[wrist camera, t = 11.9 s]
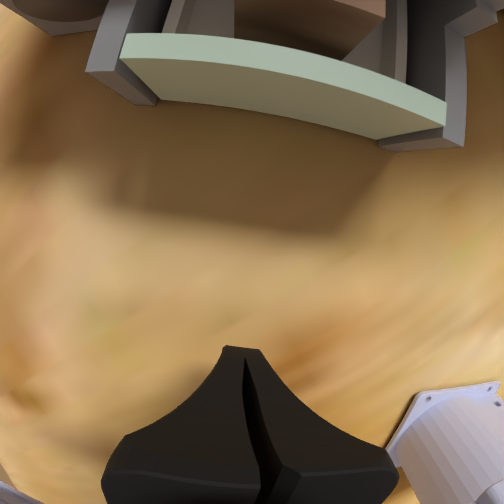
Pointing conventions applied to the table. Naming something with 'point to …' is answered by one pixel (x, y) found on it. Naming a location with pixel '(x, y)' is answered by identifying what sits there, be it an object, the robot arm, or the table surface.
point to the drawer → (284, 72)
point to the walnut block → (308, 23)
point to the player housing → (417, 69)
